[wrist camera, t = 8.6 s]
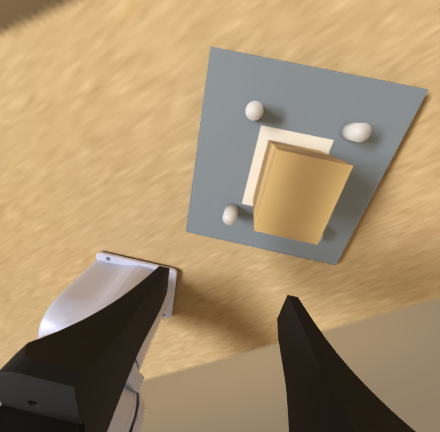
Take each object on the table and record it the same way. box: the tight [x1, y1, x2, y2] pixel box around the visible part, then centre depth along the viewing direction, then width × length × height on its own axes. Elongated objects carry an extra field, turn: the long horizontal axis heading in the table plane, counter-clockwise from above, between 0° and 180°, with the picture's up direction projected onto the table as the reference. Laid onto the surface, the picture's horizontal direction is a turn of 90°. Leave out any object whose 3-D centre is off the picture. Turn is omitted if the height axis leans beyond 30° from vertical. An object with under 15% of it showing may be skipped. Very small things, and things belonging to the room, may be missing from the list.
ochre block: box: [253, 140, 353, 245], centre depth 15 cm, size 4×5×6 cm
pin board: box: [186, 47, 428, 265], centre depth 17 cm, size 15×15×3 cm
